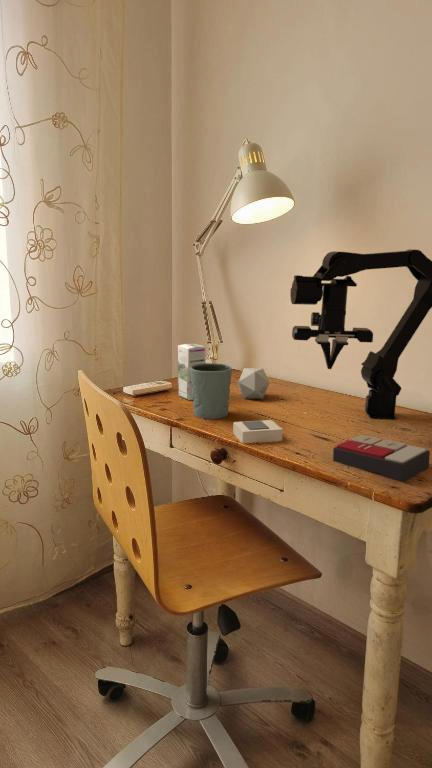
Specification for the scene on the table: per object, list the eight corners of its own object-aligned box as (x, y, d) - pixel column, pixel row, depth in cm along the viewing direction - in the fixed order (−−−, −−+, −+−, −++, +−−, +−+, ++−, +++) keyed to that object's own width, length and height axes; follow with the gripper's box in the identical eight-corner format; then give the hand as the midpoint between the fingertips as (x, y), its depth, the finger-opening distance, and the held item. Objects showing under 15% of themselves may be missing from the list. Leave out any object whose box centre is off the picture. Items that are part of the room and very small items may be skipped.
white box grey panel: (271, 418, 131) (233, 421, 129) (282, 428, 125) (242, 430, 122) (270, 432, 132) (233, 435, 130) (282, 442, 125) (242, 445, 123)
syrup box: (205, 398, 159) (207, 346, 156) (187, 400, 156) (188, 347, 153) (194, 393, 164) (195, 342, 160) (176, 396, 160) (177, 344, 157)
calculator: (361, 432, 122) (431, 446, 111) (360, 452, 122) (429, 468, 112) (332, 444, 114) (404, 460, 104) (331, 465, 115) (403, 483, 104)
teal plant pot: (238, 414, 144) (240, 367, 142) (211, 422, 137) (212, 373, 134) (209, 406, 151) (209, 361, 148) (181, 413, 144) (181, 366, 141)
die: (258, 405, 155) (278, 374, 156) (230, 387, 156) (250, 357, 157) (256, 408, 164) (274, 379, 165) (229, 391, 164) (248, 362, 165)
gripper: (365, 303, 146) (360, 363, 150) (291, 300, 147) (288, 361, 150) (376, 307, 135) (370, 372, 139) (296, 305, 136) (292, 370, 139)
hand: (329, 368), depth 142 cm, fingers closed
